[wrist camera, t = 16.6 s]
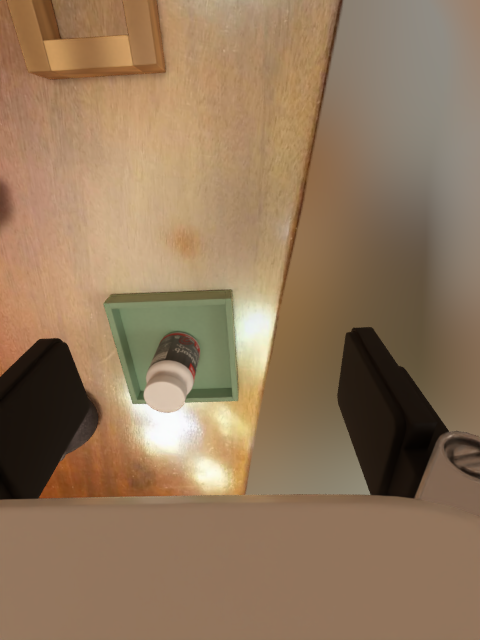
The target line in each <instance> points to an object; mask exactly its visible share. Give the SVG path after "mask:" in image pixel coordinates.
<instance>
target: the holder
mask: <svg viewBox="0 0 480 640" xmlns="http://www.w3.org/2000/svg"><path fill="white" fill-rule="evenodd" d="M6 1H7V4H8V7H9V11H10V14H11V17H12V20H13V24H14V27H15V30H16V34H17V37H18V40H19V44H20V47H21V50H22V54H23V57H24V60H25V64H26V67H27V70H28V72H29V73H32V74H35V75H38V76H41V77H44V78H47V79H66V78H82V77H98V76H114V75H130V74H144V73H145V74H147V73H163V72H166V70H165V62H164V54H163V47H162V39H161V31H160V24H159V16H158V8H157V0H122V1H123V7H124V13H125V19H126V25H127V31H128V35H117V36H102V37H87V38H71V39H60V35H59V31H58V27H57V23H56V19H55V15H54V11H53V7H52V3H51V0H6Z"/></svg>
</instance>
